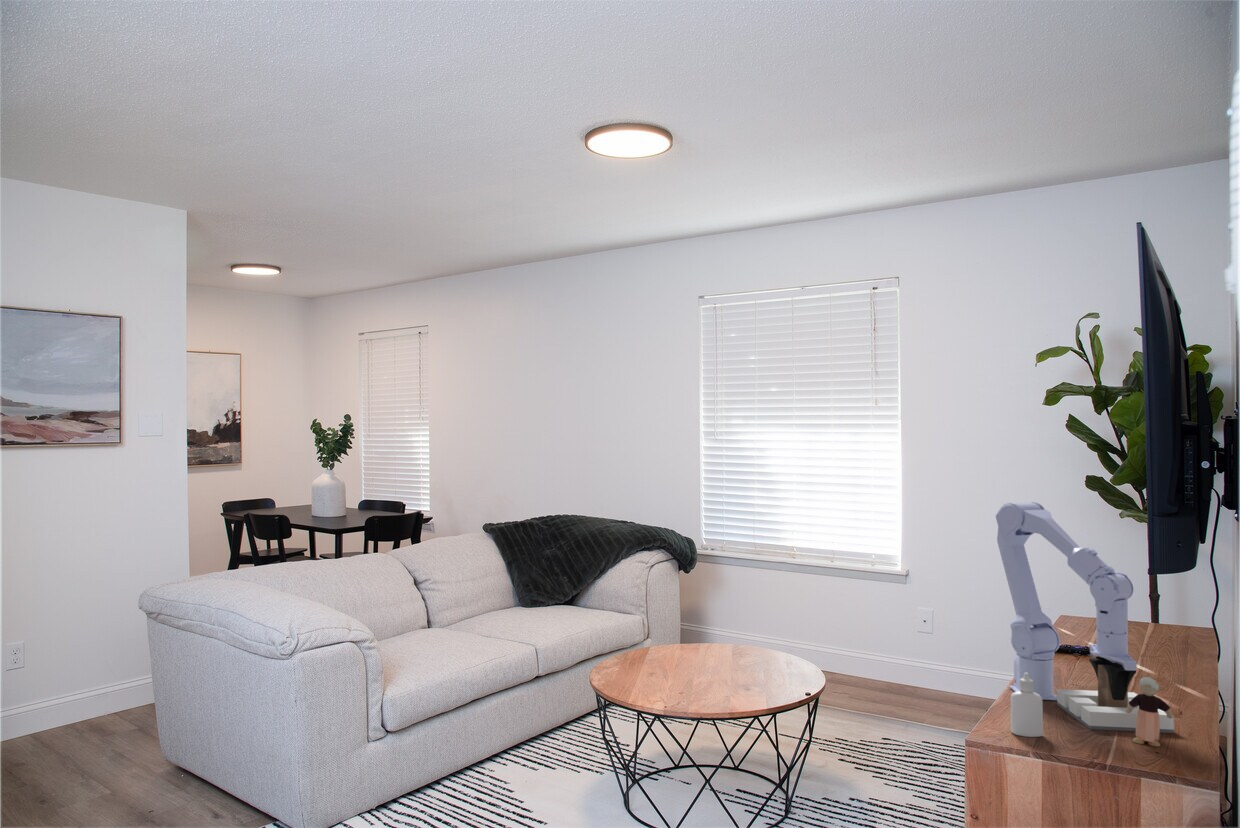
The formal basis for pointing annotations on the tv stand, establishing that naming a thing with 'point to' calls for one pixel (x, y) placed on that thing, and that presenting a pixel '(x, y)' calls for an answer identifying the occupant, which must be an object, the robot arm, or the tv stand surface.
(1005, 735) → the tv stand surface
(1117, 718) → the socket block
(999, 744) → the tv stand surface
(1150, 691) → the grandmother figurine
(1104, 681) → the walnut pin
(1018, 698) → the eye dropper bottle
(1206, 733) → the tv stand surface
